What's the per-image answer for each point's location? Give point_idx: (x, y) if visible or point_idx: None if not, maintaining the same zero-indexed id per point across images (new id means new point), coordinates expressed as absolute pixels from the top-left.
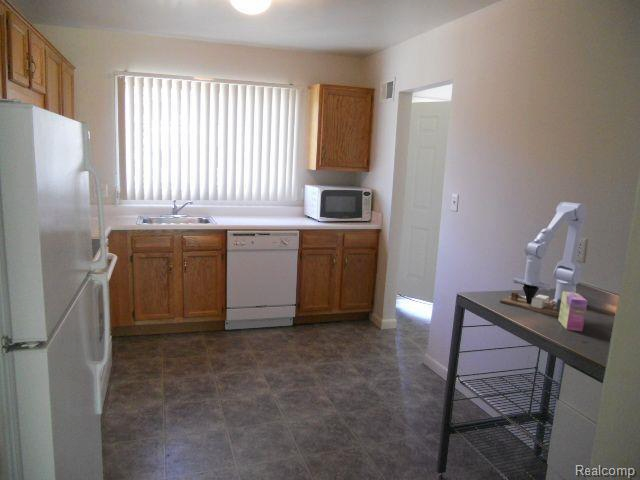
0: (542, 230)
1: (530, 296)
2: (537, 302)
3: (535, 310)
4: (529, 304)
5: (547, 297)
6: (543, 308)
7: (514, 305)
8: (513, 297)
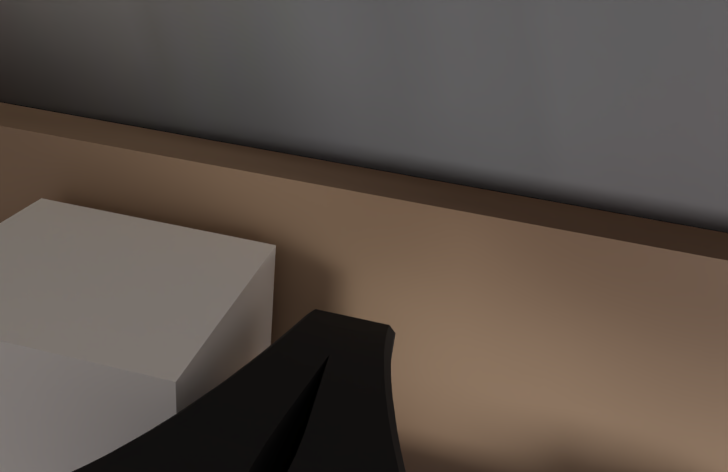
0: None
1: (210, 429)
2: (57, 288)
3: (172, 137)
4: None
5: None
6: None
7: (708, 237)
8: None
